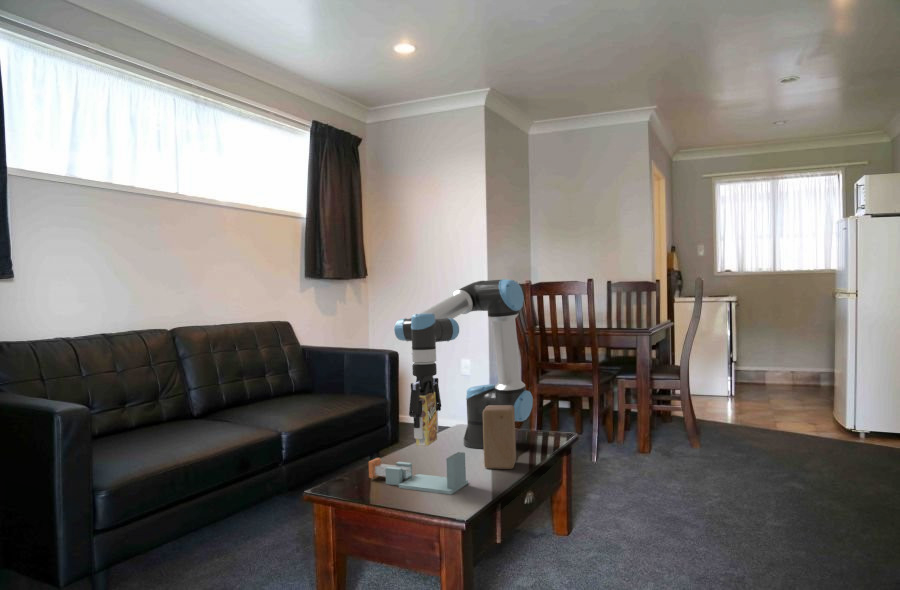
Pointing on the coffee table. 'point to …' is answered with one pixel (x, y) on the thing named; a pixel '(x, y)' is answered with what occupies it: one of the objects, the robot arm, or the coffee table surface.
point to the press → (432, 477)
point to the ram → (379, 469)
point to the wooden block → (499, 437)
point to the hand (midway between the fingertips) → (426, 434)
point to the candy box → (428, 420)
